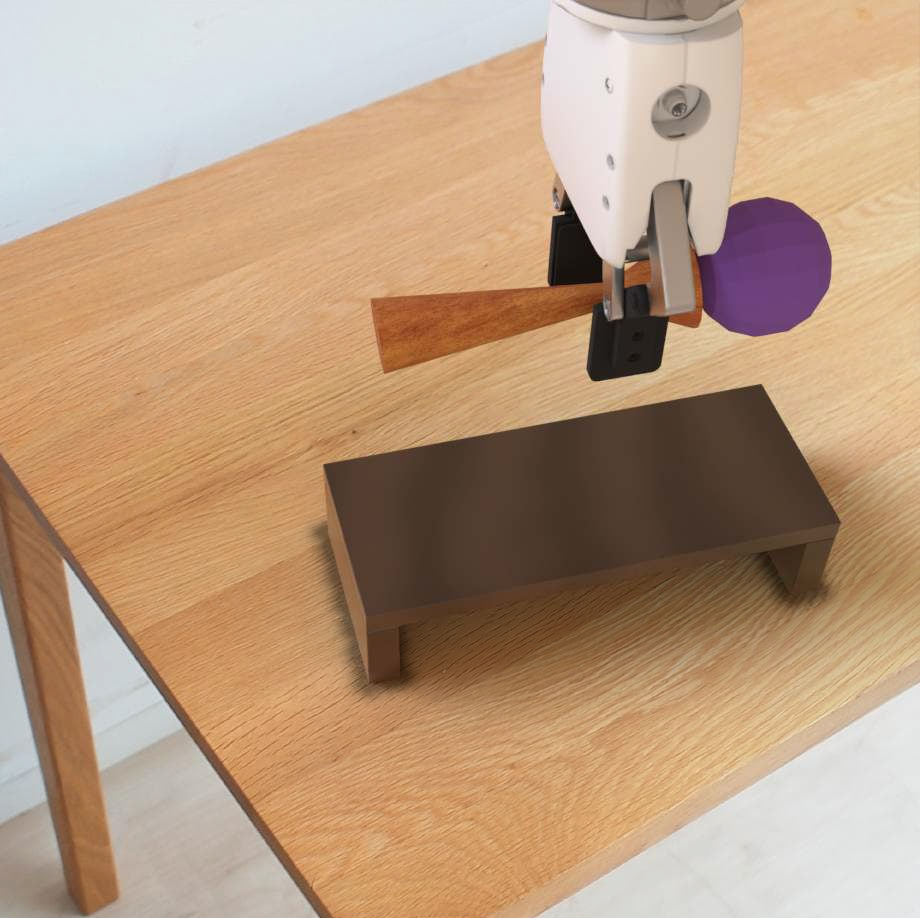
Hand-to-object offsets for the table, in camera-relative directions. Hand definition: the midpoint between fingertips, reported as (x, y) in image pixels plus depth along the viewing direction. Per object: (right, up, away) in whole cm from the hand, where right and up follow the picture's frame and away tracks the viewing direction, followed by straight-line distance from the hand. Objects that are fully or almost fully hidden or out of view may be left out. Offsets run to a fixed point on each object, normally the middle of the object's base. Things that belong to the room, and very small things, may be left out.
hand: (602, 324), depth 64 cm
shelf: (0, -11, +13) cm, 17 cm away
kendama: (0, -1, +1) cm, 1 cm away
